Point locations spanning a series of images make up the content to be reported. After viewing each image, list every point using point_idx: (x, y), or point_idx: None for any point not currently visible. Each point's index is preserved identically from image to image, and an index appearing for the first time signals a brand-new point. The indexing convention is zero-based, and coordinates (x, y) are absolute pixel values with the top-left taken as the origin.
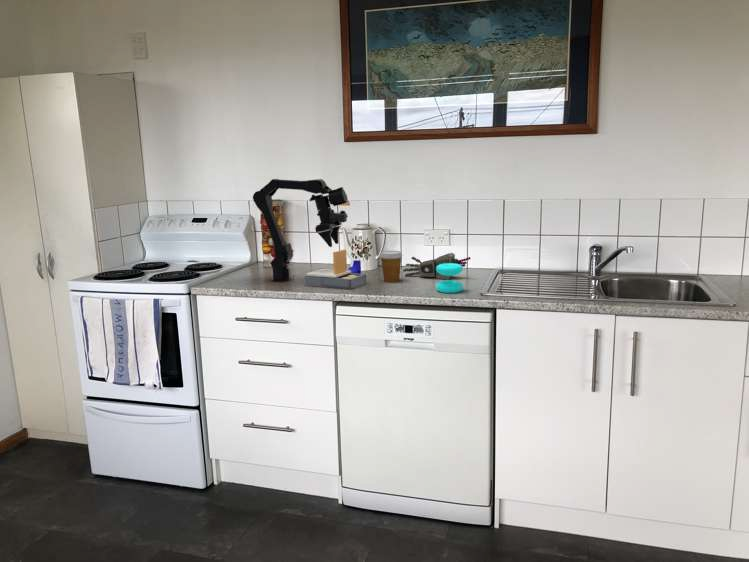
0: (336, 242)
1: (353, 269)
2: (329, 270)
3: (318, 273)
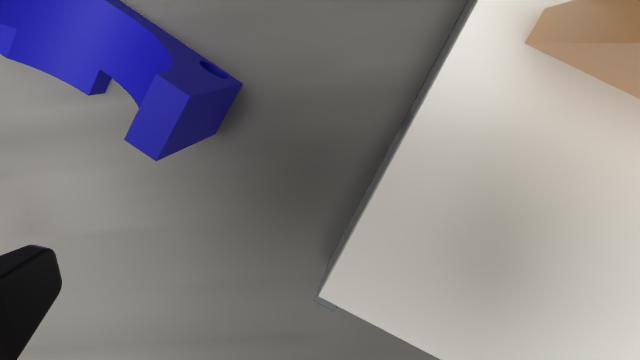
0: (35, 291)
1: (50, 9)
2: (449, 225)
3: (617, 326)
